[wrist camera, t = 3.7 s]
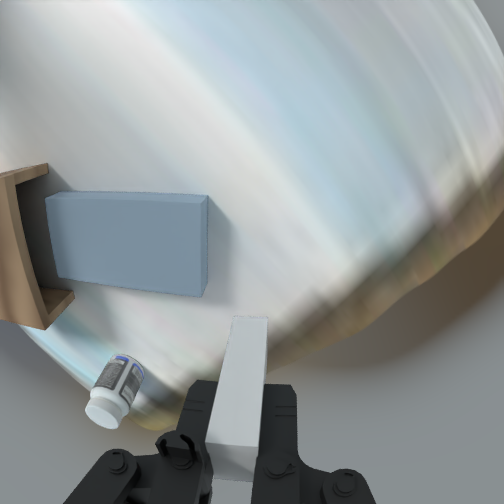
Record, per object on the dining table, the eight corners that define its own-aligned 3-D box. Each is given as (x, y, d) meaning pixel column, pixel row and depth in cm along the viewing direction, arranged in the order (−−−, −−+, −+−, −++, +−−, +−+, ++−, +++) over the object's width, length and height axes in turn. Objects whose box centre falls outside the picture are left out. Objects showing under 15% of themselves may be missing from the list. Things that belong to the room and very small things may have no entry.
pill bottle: (106, 367, 34) (79, 415, 26) (115, 346, 32) (84, 397, 25) (139, 386, 35) (116, 436, 27) (150, 366, 33) (125, 421, 25)
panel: (73, 264, 29) (58, 277, 26) (63, 190, 26) (44, 198, 23) (208, 280, 28) (201, 297, 26) (209, 194, 25) (200, 203, 22)
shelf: (24, 291, 31) (-5, 317, 25) (-4, 174, 25) (-42, 188, 19) (74, 298, 30) (45, 330, 24) (47, 163, 24) (4, 177, 18)
